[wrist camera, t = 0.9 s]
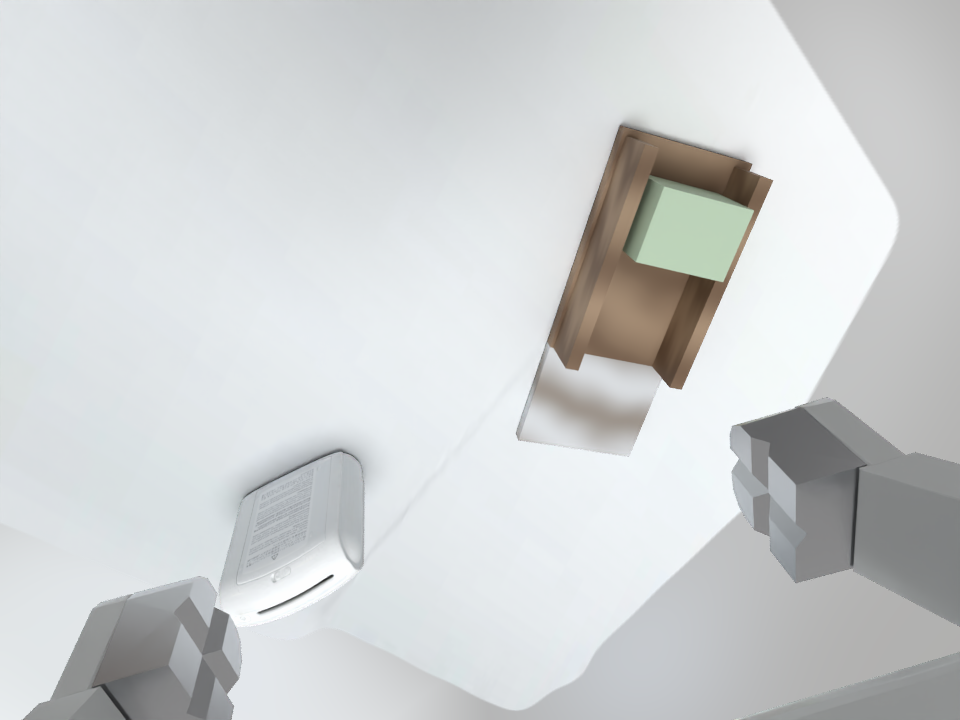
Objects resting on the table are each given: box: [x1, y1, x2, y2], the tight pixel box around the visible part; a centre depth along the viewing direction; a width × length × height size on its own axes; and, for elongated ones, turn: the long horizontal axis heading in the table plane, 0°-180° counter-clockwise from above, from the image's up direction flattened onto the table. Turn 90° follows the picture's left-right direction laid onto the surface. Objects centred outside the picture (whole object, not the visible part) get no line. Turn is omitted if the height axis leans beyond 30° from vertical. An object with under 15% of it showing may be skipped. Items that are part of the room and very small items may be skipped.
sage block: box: [622, 175, 754, 282], centre depth 46 cm, size 5×7×5 cm
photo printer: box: [219, 452, 364, 627], centre depth 49 cm, size 10×4×12 cm, turn 115°
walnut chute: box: [516, 126, 773, 457], centre depth 50 cm, size 25×10×4 cm, turn 164°
